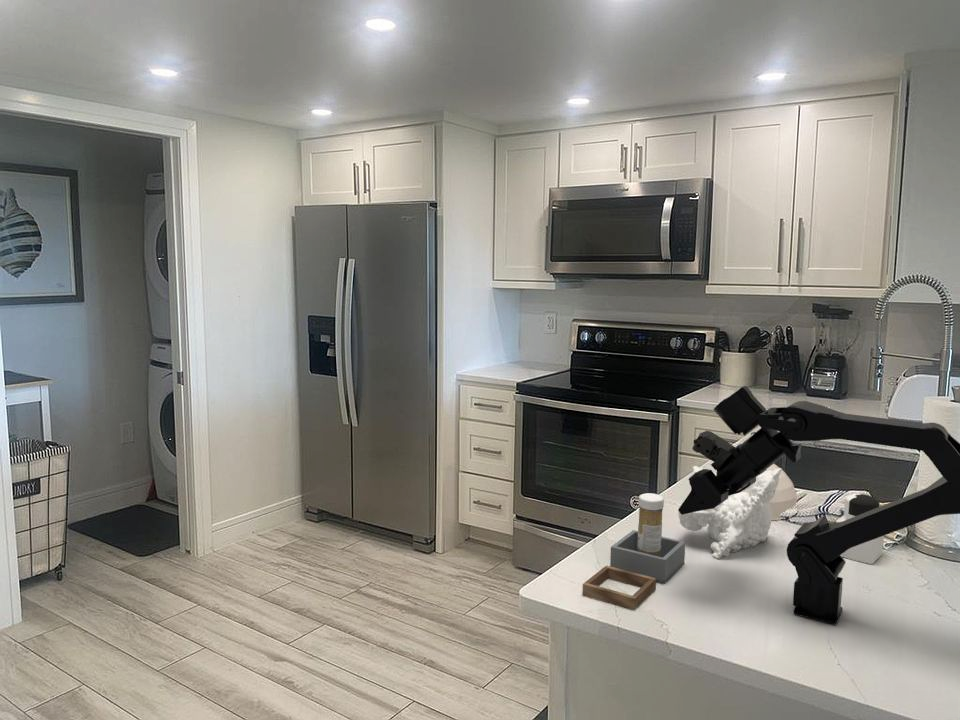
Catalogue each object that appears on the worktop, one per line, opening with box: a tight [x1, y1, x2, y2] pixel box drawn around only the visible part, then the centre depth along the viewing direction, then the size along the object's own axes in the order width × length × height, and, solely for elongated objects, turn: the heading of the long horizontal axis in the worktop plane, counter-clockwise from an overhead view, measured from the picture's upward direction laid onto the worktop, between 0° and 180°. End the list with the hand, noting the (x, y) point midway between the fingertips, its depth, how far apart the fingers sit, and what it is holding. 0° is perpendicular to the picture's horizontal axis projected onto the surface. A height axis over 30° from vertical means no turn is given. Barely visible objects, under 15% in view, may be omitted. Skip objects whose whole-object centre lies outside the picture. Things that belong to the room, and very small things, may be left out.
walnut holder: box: [581, 565, 657, 611], centre depth 126 cm, size 10×10×2 cm
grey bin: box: [609, 529, 686, 585], centre depth 137 cm, size 11×11×4 cm
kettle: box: [715, 431, 798, 522], centre depth 171 cm, size 20×21×18 cm
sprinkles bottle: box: [637, 492, 665, 557], centre depth 136 cm, size 5×5×13 cm
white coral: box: [677, 465, 783, 560], centre depth 149 cm, size 19×20×20 cm
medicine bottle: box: [835, 493, 885, 565], centre depth 143 cm, size 7×7×12 cm
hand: (690, 506), depth 131 cm, fingers open, 9 cm apart
